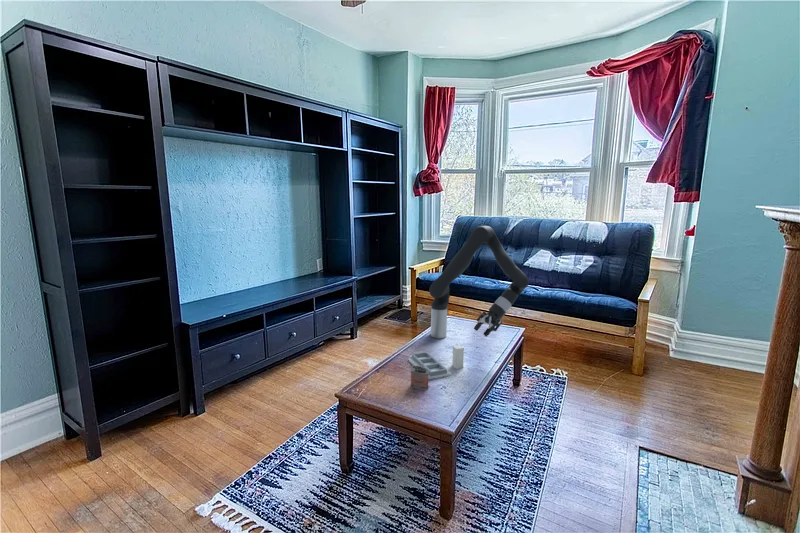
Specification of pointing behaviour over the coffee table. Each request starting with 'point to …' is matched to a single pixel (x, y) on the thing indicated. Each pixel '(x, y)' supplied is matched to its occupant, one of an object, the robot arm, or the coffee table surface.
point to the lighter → (419, 377)
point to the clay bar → (458, 356)
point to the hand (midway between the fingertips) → (479, 332)
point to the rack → (429, 365)
